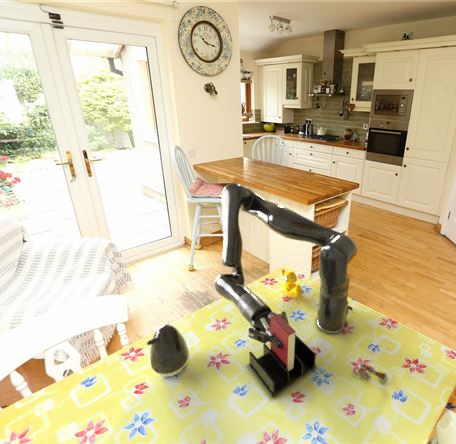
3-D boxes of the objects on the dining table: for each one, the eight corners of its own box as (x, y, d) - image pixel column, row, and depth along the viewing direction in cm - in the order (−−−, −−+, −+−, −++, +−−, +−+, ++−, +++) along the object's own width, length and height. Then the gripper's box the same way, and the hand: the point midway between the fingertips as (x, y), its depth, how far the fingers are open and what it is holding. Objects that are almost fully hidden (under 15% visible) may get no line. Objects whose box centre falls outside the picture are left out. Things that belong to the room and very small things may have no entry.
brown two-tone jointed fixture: (352, 369, 84) (361, 360, 82) (377, 381, 84) (386, 372, 82) (353, 375, 82) (361, 365, 80) (378, 387, 82) (387, 377, 80)
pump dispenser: (145, 372, 83) (134, 332, 77) (175, 347, 91) (167, 309, 85) (168, 390, 78) (159, 348, 72) (197, 362, 86) (191, 323, 80)
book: (277, 349, 88) (277, 313, 82) (294, 368, 82) (295, 331, 76) (270, 353, 86) (270, 317, 81) (286, 373, 81) (288, 335, 75)
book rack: (290, 341, 94) (290, 328, 92) (315, 367, 85) (316, 353, 83) (248, 366, 85) (248, 352, 83) (272, 397, 76) (272, 383, 74)
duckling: (276, 289, 119) (276, 269, 115) (286, 284, 122) (287, 264, 118) (294, 304, 111) (295, 282, 107) (305, 298, 114) (306, 277, 110)
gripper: (233, 308, 86) (265, 345, 74) (271, 291, 94) (306, 322, 82) (234, 327, 89) (265, 366, 77) (271, 309, 97) (305, 342, 85)
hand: (286, 343), depth 79 cm, fingers closed on book, 2 cm apart
